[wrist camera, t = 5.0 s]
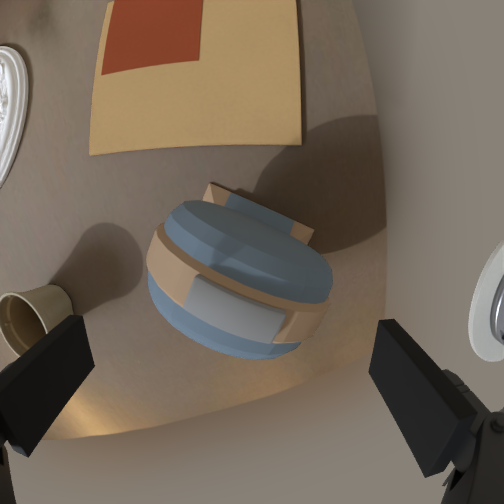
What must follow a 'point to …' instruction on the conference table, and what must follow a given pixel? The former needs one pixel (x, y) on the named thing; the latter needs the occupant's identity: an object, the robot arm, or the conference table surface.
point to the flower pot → (32, 315)
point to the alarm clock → (238, 276)
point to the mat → (196, 75)
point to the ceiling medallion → (11, 106)
